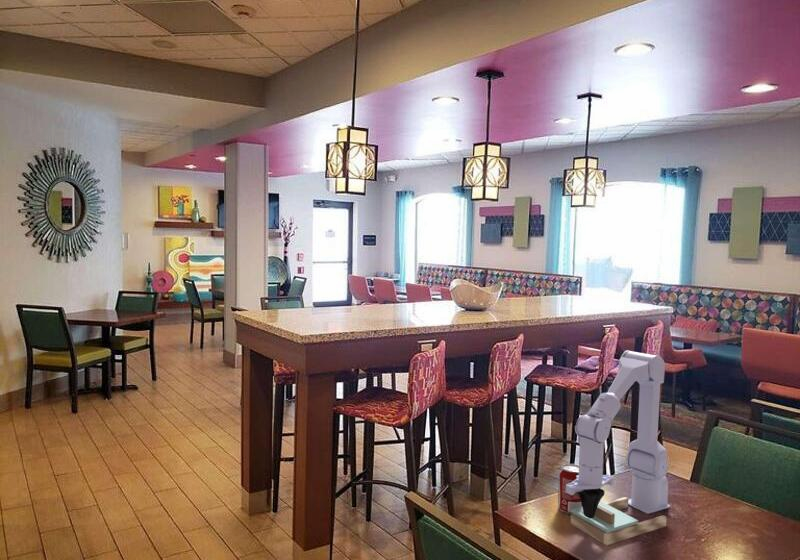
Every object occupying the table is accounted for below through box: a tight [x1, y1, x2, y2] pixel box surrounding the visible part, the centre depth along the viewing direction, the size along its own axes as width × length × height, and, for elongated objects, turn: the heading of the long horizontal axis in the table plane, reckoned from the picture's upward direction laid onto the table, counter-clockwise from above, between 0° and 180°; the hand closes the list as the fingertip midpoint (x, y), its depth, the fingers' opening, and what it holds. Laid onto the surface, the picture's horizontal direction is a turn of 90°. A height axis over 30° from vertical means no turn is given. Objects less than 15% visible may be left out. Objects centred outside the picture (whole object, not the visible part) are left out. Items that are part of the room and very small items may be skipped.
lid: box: [571, 500, 639, 533], centre depth 147 cm, size 11×12×3 cm
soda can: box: [557, 463, 582, 516], centre depth 157 cm, size 7×7×12 cm
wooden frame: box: [570, 496, 667, 546], centre depth 150 cm, size 22×13×2 cm, turn 118°
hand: (588, 516), depth 145 cm, fingers closed
